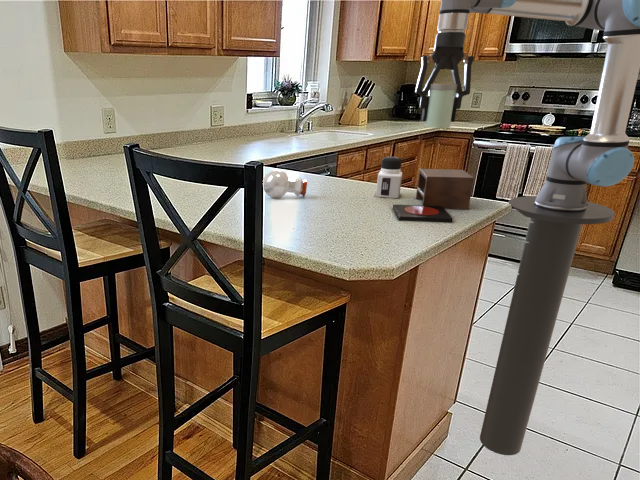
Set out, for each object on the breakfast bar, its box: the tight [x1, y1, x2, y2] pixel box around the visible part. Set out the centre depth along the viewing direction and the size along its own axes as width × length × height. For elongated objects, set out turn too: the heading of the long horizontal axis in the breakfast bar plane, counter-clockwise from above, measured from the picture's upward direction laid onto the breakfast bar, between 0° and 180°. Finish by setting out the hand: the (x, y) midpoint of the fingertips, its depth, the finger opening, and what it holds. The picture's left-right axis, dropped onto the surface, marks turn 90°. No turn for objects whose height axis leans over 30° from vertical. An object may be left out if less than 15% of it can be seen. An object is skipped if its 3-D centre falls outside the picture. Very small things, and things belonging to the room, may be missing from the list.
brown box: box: [415, 168, 475, 210], centre depth 171 cm, size 14×14×10 cm
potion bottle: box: [263, 169, 308, 199], centre depth 180 cm, size 9×10×15 cm
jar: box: [423, 82, 458, 129], centre depth 150 cm, size 8×8×12 cm
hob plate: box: [392, 204, 453, 223], centre depth 159 cm, size 15×15×1 cm
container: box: [375, 156, 403, 199], centre depth 181 cm, size 8×8×13 cm
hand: (437, 120), depth 151 cm, fingers closed on jar, 7 cm apart
